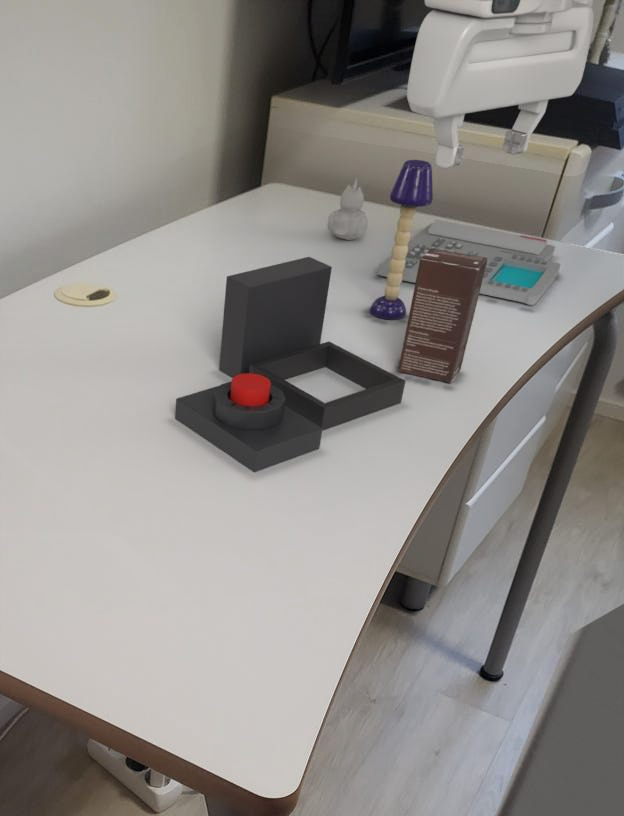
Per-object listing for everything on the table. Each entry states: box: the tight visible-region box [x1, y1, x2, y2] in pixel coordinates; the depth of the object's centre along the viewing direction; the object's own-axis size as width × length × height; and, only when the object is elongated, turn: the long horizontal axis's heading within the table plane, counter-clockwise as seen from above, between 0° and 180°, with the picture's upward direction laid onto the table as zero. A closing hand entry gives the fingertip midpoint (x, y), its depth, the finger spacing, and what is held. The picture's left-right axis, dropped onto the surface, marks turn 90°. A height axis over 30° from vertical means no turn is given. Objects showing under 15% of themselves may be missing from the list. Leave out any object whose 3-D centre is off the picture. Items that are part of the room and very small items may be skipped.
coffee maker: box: [218, 256, 406, 432], centre depth 97 cm, size 16×11×10 cm
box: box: [397, 248, 487, 384], centre depth 100 cm, size 6×4×12 cm
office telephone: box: [376, 219, 561, 306], centre depth 129 cm, size 23×3×20 cm
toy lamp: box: [369, 159, 434, 320], centre depth 111 cm, size 5×5×17 cm
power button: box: [230, 373, 271, 406], centre depth 90 cm, size 4×4×2 cm
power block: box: [174, 380, 323, 473], centre depth 91 cm, size 12×8×4 cm, turn 35°
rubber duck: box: [327, 177, 369, 241], centre depth 134 cm, size 5×7×8 cm
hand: (481, 159), depth 91 cm, fingers open, 8 cm apart
